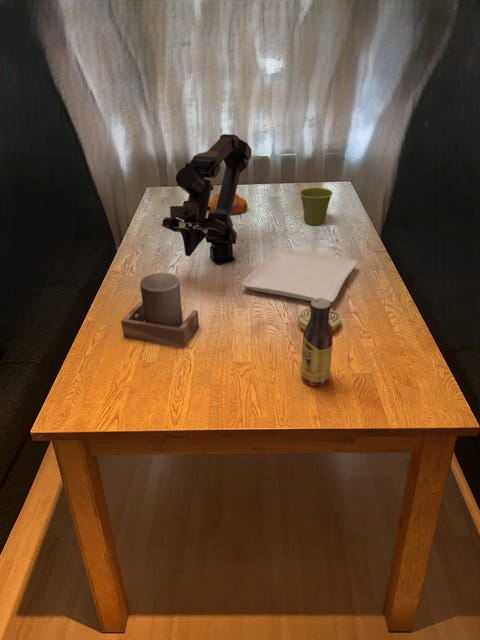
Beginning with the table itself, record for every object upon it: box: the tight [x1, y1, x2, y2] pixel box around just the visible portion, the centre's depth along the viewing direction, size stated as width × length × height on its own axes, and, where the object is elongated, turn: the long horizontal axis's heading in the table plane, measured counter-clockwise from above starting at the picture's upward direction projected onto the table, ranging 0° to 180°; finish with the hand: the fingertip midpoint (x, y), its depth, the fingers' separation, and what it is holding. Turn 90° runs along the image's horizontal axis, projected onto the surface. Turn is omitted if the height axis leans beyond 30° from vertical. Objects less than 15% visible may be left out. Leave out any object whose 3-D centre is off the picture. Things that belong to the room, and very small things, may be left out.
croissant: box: [208, 193, 248, 215], centre depth 207 cm, size 14×16×8 cm
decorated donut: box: [297, 307, 342, 333], centre depth 134 cm, size 10×11×4 cm
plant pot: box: [298, 187, 334, 226], centre depth 192 cm, size 12×12×11 cm
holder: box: [120, 301, 200, 349], centre depth 133 cm, size 10×16×5 cm, turn 71°
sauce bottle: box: [300, 298, 334, 387], centre depth 111 cm, size 7×6×20 cm
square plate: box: [241, 248, 359, 304], centre depth 155 cm, size 27×27×4 cm
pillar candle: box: [139, 272, 184, 328], centre depth 132 cm, size 10×10×15 cm
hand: (187, 255), depth 145 cm, fingers closed
